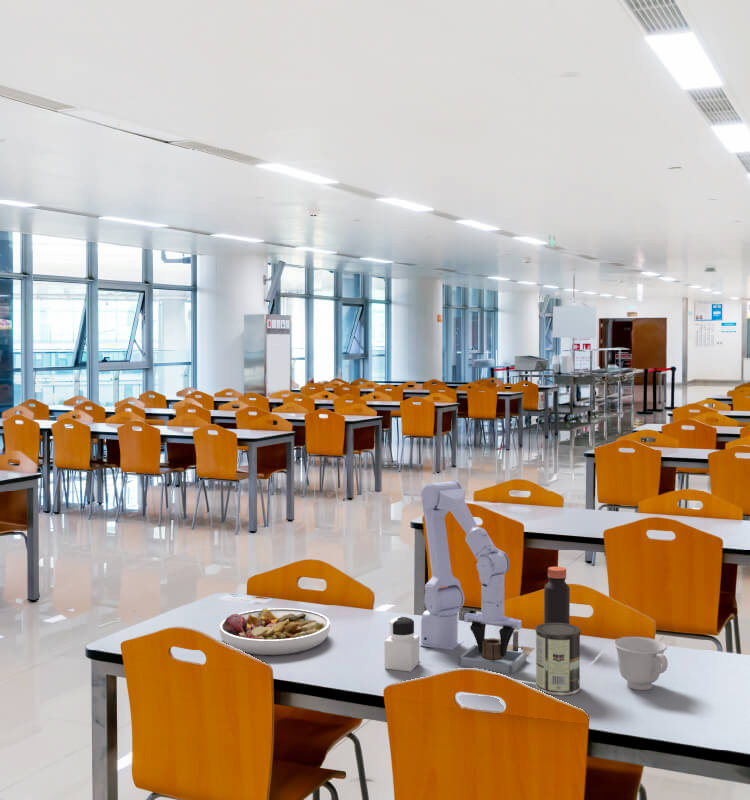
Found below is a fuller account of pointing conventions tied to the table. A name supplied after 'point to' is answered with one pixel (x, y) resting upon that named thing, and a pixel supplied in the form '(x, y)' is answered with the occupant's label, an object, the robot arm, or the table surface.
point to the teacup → (640, 660)
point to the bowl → (275, 631)
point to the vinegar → (556, 597)
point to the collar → (491, 649)
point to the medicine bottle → (401, 645)
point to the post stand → (515, 646)
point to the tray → (504, 666)
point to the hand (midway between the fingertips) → (492, 653)
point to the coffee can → (558, 658)
